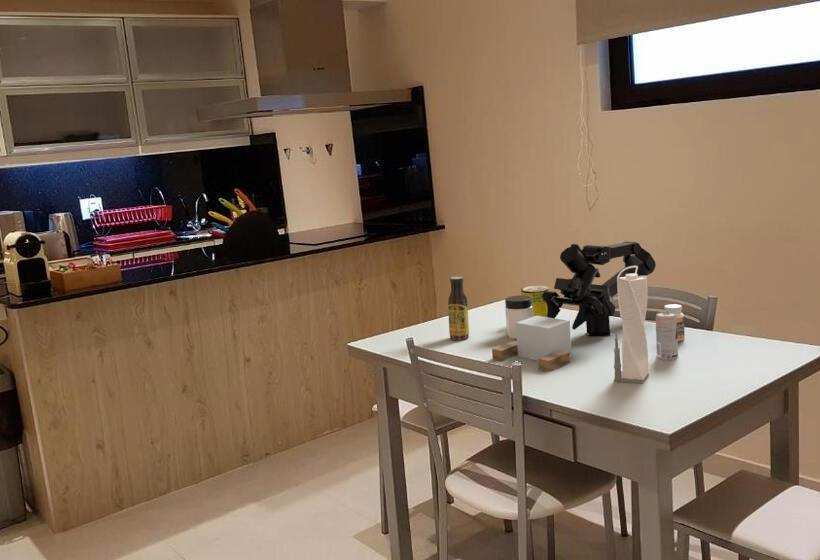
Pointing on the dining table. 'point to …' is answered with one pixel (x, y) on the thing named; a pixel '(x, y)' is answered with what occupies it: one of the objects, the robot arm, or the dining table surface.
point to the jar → (517, 312)
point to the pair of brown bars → (544, 362)
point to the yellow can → (536, 299)
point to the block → (542, 336)
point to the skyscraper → (632, 329)
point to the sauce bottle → (458, 310)
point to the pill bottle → (680, 319)
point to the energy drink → (666, 335)
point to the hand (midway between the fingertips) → (560, 326)
